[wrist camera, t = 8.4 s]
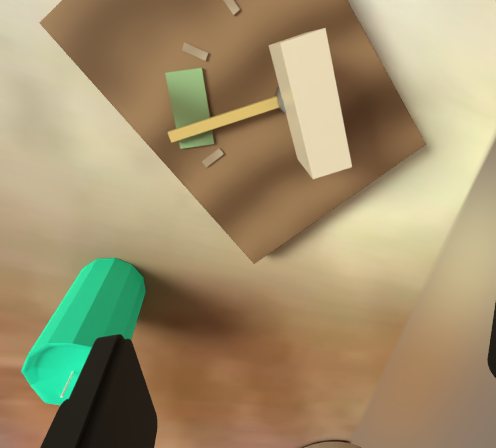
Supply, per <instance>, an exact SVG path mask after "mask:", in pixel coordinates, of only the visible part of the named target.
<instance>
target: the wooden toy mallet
mask: <svg viewBox="0 0 496 448" xmlns="http://www.w3.org/2000/svg"><path fill="white" fill-rule="evenodd" d="M269 49H270V53H271V57H272V61H273V65H274V69H275V73H276V77H277V81H278V84H279V85H278V87H277V90H276V94H275V97H272V98H269V99H266V100H263V101H259V102H256V103H253V104H250V105H247V106H244V107H241V108H238V109H235V110H232V111H229V112H226V113H223V114H220V115H217V116H214V117H211V118H208V119H205V120H202V121H198V122H195V123H192V124H189V125H186V126H183V127H180V128H177V129H174V130H171V131H168V135H169V138H170V140H171V143H172V142H175V141H178V140H181V139H184V138H187V137H190V136H193V135H197V134H200V133H203V132H206V131H209V130H212V129H215V128H218V127H221V126H224V125H227V124H230V123H233V122H236V121H239V120H243V119H246V118H249V117H252V116H255V115H258V114H261V113H264V112H267V111H270V110H273V109H276V108H280V109H281V110H282V111H283V112H284V113H285V114H286V116H287V120H288V124H289V128H290V132H291V136H292V140H293V143H294V147H295V151H296V155H297V159H298V160H299V162H300V163H301V164H302V166H303V167H304V168H305V170H306V171H307V172H308V173H309V175H310V176H311V177H312V179H316V178H319V177H322V176H325V175H329V174H332V173H335V172H338V171H341V170H344V169H348V168H351V167H352V164H351V158H350V153H349V148H348V143H347V138H346V132H345V127H344V122H343V117H342V112H341V106H340V101H339V96H338V91H337V86H336V80H335V75H334V70H333V65H332V60H331V54H330V49H329V44H328V39H327V34H326V28H323V29H319V30H315V31H311V32H307V33H304V34H301V35H298V36H295V37H292V38H289V39H286V40H283V41H280V42H277V43H274V44H271V45H269Z"/></svg>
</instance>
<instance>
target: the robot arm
mask: <svg viewBox="0 0 496 448" xmlns="http://www.w3.org/2000/svg"><path fill="white" fill-rule="evenodd" d="M488 366H489V369H490V371H491V372H492V374H493V375H494V377H495V378H496V303H495V311H494V318H493V325H492V332H491V339H490V346H489V353H488ZM156 433H157V415H156V412H155V409H154V406H153V403H152V400H151V397H150V394H149V391H148V388H147V385H146V382H145V379H144V376H143V373H142V370H141V367H140V364H139V361H138V358H137V355H136V353H135V350H134V347H133V344H132V341H131V340H130V339H124V337H123V336H122V335H121V334H117V335H111V336H105V337H99V338H97V339H96V340H95V342H94V344H93V346H92V348H91V350H90V353H89V355H88V357H87V359H86V362H85V364H84V366H83V368H82V370H81V373H80V375H79V377H78V379H77V381H76V384H75V386H74V388H73V390H72V392H71V395H70V397H69V399H66V400H65V401H64V402H63V403H62V404H61V406H60V407H59V409H58V411H57V413H56V416H55V418H54V420H53V422H52V424H51V426H50V428H49V430H48V433H47V435H46V437H45V439H44V441H43V443H42V445H41V448H154V445H155V439H156ZM304 448H360V447H359V446H356V445H353V444H351V443H345V442H335V441H331V442H321V443H317V444H312V445H309V446H307V447H304Z"/></svg>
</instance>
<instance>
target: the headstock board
mask: <svg viewBox="0 0 496 448" xmlns="http://www.w3.org/2000/svg"><path fill="white" fill-rule="evenodd" d="M40 24H41V25H42V26H43V28H44V29H45V30H46V31H47V32H48V33H49V34H50V35H51V37H52V38H53V39H54V40H55V41H56V42H57V43H58V44H59V45H60V47H61V48H62V49H63V50H64V51H65V52H66V53H67V54H68V56H69V57H70V58H71V59H72V60H73V61H74V62H75V63H76V65H77V66H78V67H79V68H80V69H81V70H82V71H83V72H84V74H85V75H86V76H87V77H88V78H89V79H90V80H91V81H92V83H93V84H94V85H95V86H96V87H97V88H98V89H99V90H100V92H101V93H102V94H103V95H104V96H105V97H106V98H107V99H108V100H109V102H110V103H111V104H112V105H113V106H114V107H115V108H116V109H117V111H118V112H119V113H120V114H121V115H122V116H123V117H124V118H125V120H126V121H127V122H128V123H129V124H130V125H131V126H132V127H133V129H134V130H135V131H136V132H137V133H138V134H139V135H140V136H141V138H142V139H143V140H144V141H145V142H146V143H147V144H148V145H149V147H150V148H151V149H152V150H153V151H154V152H155V153H156V154H157V155H158V157H159V158H160V159H161V160H162V161H163V162H164V163H165V164H166V166H167V167H168V168H169V169H170V170H171V171H172V172H173V173H174V175H175V176H176V177H177V178H178V179H179V180H180V181H181V182H182V184H183V185H184V186H185V187H186V188H187V189H188V190H189V191H190V193H191V194H192V195H193V196H194V197H195V198H196V199H197V200H198V202H199V203H200V204H201V205H202V206H203V207H204V208H205V209H206V210H207V212H208V213H209V214H210V215H211V216H212V217H213V218H214V219H215V221H216V222H217V223H218V224H219V225H220V226H221V227H222V228H223V230H224V231H225V232H226V233H227V234H228V235H229V236H230V237H231V239H232V240H233V241H234V242H235V243H236V244H237V245H238V246H239V248H240V249H241V250H242V251H243V252H244V253H245V254H246V255H247V257H248V258H249V259H250V260H251V261H252V262H253V263H254V264H255V263H256V262H258V261H259V260H261V259H262V258H263V257H265V256H266V255H268V254H269V253H271V252H272V251H273V250H275V249H276V248H278V247H279V246H281V245H282V244H284V243H285V242H286V241H288V240H289V239H291V238H292V237H294V236H295V235H296V234H298V233H299V232H301V231H302V230H304V229H305V228H306V227H308V226H309V225H311V224H312V223H314V222H315V221H317V220H318V219H319V218H321V217H322V216H324V215H325V214H327V213H328V212H329V211H331V210H332V209H334V208H335V207H337V206H338V205H340V204H341V203H342V202H344V201H345V200H347V199H348V198H350V197H351V196H352V195H354V194H355V193H357V192H358V191H360V190H361V189H363V188H364V187H365V186H367V185H368V184H370V183H371V182H373V181H374V180H375V179H377V178H378V177H380V176H381V175H383V174H384V173H386V172H387V171H388V170H390V169H391V168H393V167H394V166H396V165H397V164H398V163H400V162H401V161H403V160H404V159H406V158H407V157H409V156H410V155H411V154H413V153H414V152H416V151H417V150H419V149H420V148H421V147H423V146H424V145H426V144H425V142H424V140H423V138H422V136H421V135H420V133H419V131H418V129H417V127H416V125H415V124H414V122H413V120H412V118H411V116H410V114H409V113H408V111H407V109H406V107H405V105H404V103H403V102H402V100H401V98H400V96H399V94H398V92H397V91H396V89H395V87H394V85H393V83H392V82H391V80H390V78H389V76H388V74H387V72H386V71H385V69H384V67H383V65H382V63H381V61H380V60H379V58H378V56H377V54H376V52H375V50H374V49H373V47H372V45H371V43H370V41H369V39H368V38H367V36H366V34H365V32H364V30H363V29H362V27H361V25H360V23H359V21H358V19H357V18H356V16H355V14H354V12H353V10H352V8H351V7H350V5H349V3H348V1H347V0H62V1H61V2H60V3H59V4H58V5H57V6H56V7H55V8H54V9H53V10H52V11H51V12H50V13H49V14H48V15H47V16H46V17H45V18H44V19H43V20H42V21H41V22H40ZM323 28H326V34H327V39H328V44H329V49H330V54H331V60H332V65H333V70H334V75H335V80H336V86H337V91H338V96H339V101H340V106H341V112H342V117H343V122H344V127H345V132H346V138H347V143H348V148H349V153H350V158H351V164H352V167H351V168H348V169H344V170H341V171H338V172H335V173H332V174H329V175H325V176H322V177H319V178H316V179H312V177H311V176H310V175H309V173H308V172H307V171H306V170H305V168H304V167H303V166H302V164H301V163H300V162H299V160H298V159H297V155H296V151H295V147H294V143H293V140H292V136H291V132H290V128H289V124H288V120H287V116H286V114H285V113H284V112H283V111H282V110H281V109H280V108H276V109H273V110H270V111H267V112H264V113H261V114H258V115H255V116H252V117H249V118H246V119H243V120H239V121H236V122H233V123H230V124H227V125H224V126H221V127H218V128H215V129H212V130H209V131H206V132H203V133H200V134H197V135H193V136H190V137H187V138H184V139H181V140H178V141H175V142H172V143H171V140H170V138H169V135H168V131H171V130H174V129H177V128H180V127H183V126H186V125H189V124H192V123H195V122H198V121H202V120H205V119H208V118H211V117H214V116H217V115H220V114H223V113H226V112H229V111H232V110H235V109H238V108H241V107H244V106H247V105H250V104H253V103H256V102H259V101H263V100H266V99H269V98H272V97H275V94H276V90H277V87H278V85H279V84H278V81H277V77H276V73H275V69H274V65H273V61H272V57H271V53H270V49H269V45H271V44H274V43H277V42H280V41H283V40H286V39H289V38H292V37H295V36H298V35H301V34H304V33H307V32H311V31H315V30H319V29H323Z"/></svg>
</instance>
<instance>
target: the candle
mask: <svg viewBox="0 0 496 448" xmlns="http://www.w3.org/2000/svg"><path fill="white" fill-rule="evenodd" d="M145 293H146V290H145V284H144V278H143V276H142V275H141V274H140V273H139V272H138V271H137V270H136V268H135V267H134V266H133V265H132V264H129V263H127V262H124V261H122V260H119V259H117V258H106V259H96V260H95V261H93V262H91V263H90V264H88V265H87V266H85V267H83V269H82V270H81V272H80V273H79V275H78V276H77V278H76V280H75V281H74V283H73V284H72V286H71V288H70V289H69V291H68V292H67V294H66V295H65V297H64V299H63V300H62V302H61V303H60V305H59V306H58V308H57V310H56V311H55V313H54V314H53V316H52V318H51V319H50V321H49V322H48V324H47V325H46V327H45V329H44V330H43V332H42V333H41V335H40V336H39V338H38V340H37V341H36V343H35V344H34V346H33V348H32V349H31V351H30V352H29V354H28V356H27V358H26V361H25V363H24V366H23V368H22V371H21V372H22V373H23V375H24V376H25V378H26V379H27V381H28V383H29V384H30V385H31V387H32V388H33V389H34V390H35V391H36V393H37V394H38V395H39V396H40V397H41V399H42V400H43V401H44V402H45V403H49V404H57V405H61V404H62V403H63V402H64V401H65V400H66V399H69V397H70V395H71V392H72V390H73V388H74V386H75V384H76V381H77V379H78V377H79V375H80V373H81V370H82V368H83V366H84V364H85V362H86V359H87V357H88V355H89V353H90V350H91V348H92V346H93V344H94V342H95V340H96V339H97V338H99V337H105V336H111V335H117V334H121V335H122V336H123V337H124V339H130V340H131V339H132V336H133V332H134V329H135V326H136V322H137V319H138V316H139V313H140V309H141V306H142V303H143V299H144V296H145Z"/></svg>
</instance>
